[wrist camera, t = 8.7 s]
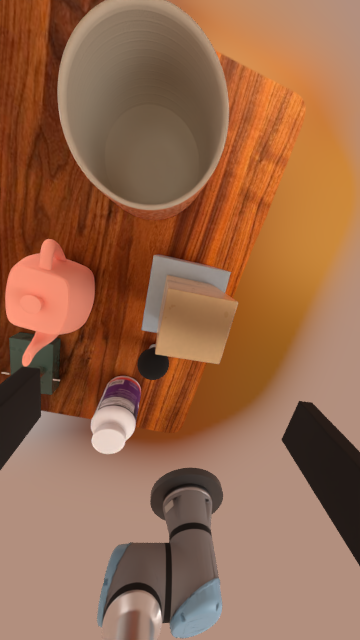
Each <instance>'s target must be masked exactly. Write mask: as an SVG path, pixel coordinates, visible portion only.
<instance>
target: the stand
mask: <svg viewBox="0 0 360 640" xmlns="http://www.w3.org/2000/svg"><path fill="white" fill-rule="evenodd" d="M230 273H231V272H229V271H226V270H222V269H219V268H216V267H212V266H209V265H205V264H200V263H196V262H191V261H187V260H182V259H178V258H173V257H169V256H164V255H160V254H157V255H154V257H153V263H152V269H151V275H150V281H149V287H148V293H147V299H146V305H145V311H144V317H143V323H142V329H141V330H144V331H150V332H156V333H157V329H158V319H159V313H160V308H161V303H162V298H163V292H164V287H165V282H166V277H167V275H170V276H175V277H179V278H184V279H189V280H194V281H199V282H203V283H208V284H212V285H214V286H215V287H217V288H218V289H220V290H221V291H222V292H224V293H225V291H226V288H227V284H228V280H229V277H230Z"/></svg>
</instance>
